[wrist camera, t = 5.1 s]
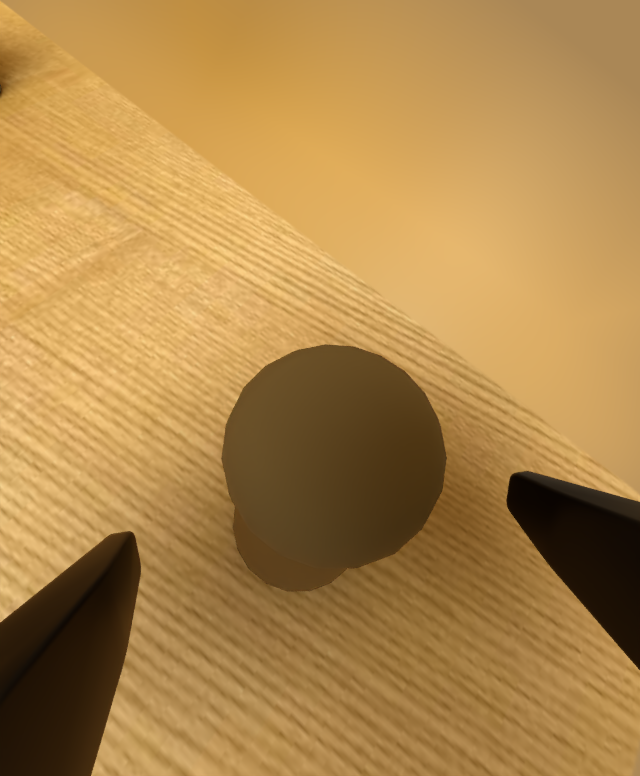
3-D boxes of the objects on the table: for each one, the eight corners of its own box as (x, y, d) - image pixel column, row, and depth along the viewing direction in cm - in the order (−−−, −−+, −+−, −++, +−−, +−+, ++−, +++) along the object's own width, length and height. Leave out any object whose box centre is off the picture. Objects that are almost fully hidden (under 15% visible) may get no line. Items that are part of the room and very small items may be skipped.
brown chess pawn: (389, 518, 17) (543, 429, 8) (297, 627, 15) (362, 695, 5) (301, 431, 19) (340, 268, 9) (205, 515, 16) (122, 409, 7)
